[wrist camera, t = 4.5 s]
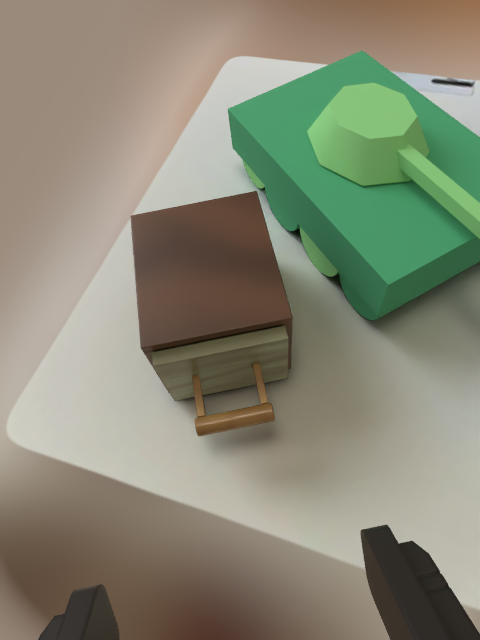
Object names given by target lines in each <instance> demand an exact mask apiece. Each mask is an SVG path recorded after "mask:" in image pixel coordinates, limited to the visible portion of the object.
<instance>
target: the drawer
mask: <svg viewBox="0 0 480 640" xmlns="http://www.w3.org/2000/svg"><path fill="white" fill-rule="evenodd" d="M152 360H153V366H154V368H155V370H156V371H157V373H158V375H159V376H160V378H161V379H162V381H163V383H164V384H165V386H166V387H167V389H168V391H169V392H170V394H171V395H172V397H173V399H174V400H175V401H177V400H182V399H187V398H192V397H195V403H196V410H197V417H198V418H196V419H195V426H196V431H197V435H198V436H204V435H209V434H214V433H218V432H223V431H228V430H233V429H238V428H243V427H247V426H252V425H257V424H262V423H267V422H272V421H275V417H274V412H273V408H272V404H271V403H268V398H267V394H266V389H265V385H264V383H265V382H270V381H275V380H280V379H285V378H288V335H287V331H286V328H285V325H284V326H279V327H274V328H273V326H272V327H267V328H262V329H257V330H252V331H247V332H242V333H237V334H233V335H228V336H223V337H218V338H213V339H208V340H203V341H198V342H193V343H188V344H183V345H178V346H173V347H168V348H166V349H165V350H160V351H155V352H152ZM255 384H256V385H257V389H258V394H259V399H260V403H261V405H257V406H253V407H248V408H243V409H238V410H233V411H228V412H223V413H218V414H214V415H209V416H206V414H205V407H204V400H203V395H206V394H211V393H216V392H221V391H226V390H231V389H236V388H241V387H245V386H250V385H255Z"/></svg>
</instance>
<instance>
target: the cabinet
mask: <svg viewBox="0 0 480 640" xmlns="http://www.w3.org/2000/svg"><path fill="white" fill-rule="evenodd" d="M131 228H132V241H133V254H134V267H135V280H136V293H137V306H138V319H139V331H140V344H141V349H142V351H143V352H144V354H145V355H146V357H147V359H148V360H149V362H150V363H151V365H152V366H153V360H152V352H155V351H160V350H165V349H166V348H168V347H173V346H178V345H183V344H188V343H193V342H198V341H203V340H208V339H213V338H218V337H223V336H228V335H233V334H237V333H242V332H247V331H252V330H257V329H262V328H267V327H272V326H273V328H274V327H279V326H284V325H285V328H286V331H287V335H288V369H290V368H291V348H292V314H291V310H290V307H289V303H288V300H287V296H286V292H285V289H284V285H283V282H282V278H281V275H280V271H279V268H278V264H277V261H276V257H275V254H274V250H273V247H272V243H271V240H270V236H269V233H268V229H267V225H266V222H265V218H264V215H263V211H262V208H261V204H260V201H259V197H258V194H257V191H254V192H249V193H244V194H239V195H234V196H229V197H224V198H219V199H213V200H208V201H203V202H198V203H193V204H188V205H183V206H178V207H173V208H168V209H163V210H158V211H153V212H147V213H142V214H137V215H132V216H131ZM153 368H154V366H153ZM154 370H155V368H154ZM155 371H156V370H155ZM156 373H157V371H156ZM157 374H158V373H157ZM158 376H159V375H158ZM159 378H160V376H159ZM160 379H161V378H160ZM161 381H162V379H161ZM162 382H163V381H162ZM163 384H164V383H163ZM164 386H165V384H164ZM165 387H166V386H165ZM166 389H167V387H166ZM167 390H168V389H167ZM168 392H169V391H168ZM169 393H170V392H169Z"/></svg>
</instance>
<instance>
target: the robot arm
mask: <svg viewBox="0 0 480 640" xmlns="http://www.w3.org/2000/svg"><path fill="white" fill-rule="evenodd" d="M361 540H362V547H363V554H364V561H365V568H366V575H367V579H368V583H369V587H370V590H371V593H372V596H373V599H374V601H375V604H376V606H377V609H378V611H379V613H380V616H381V618H382V620H383V623H384V625H385V627H386V630H387V632H388V635H389V637H390V640H480V634H479V632H478V631H477V629H476V628H475V626H474V624H473V623H472V621H471V620H470V618H469V616H468V615H467V613H466V612H465V610H464V609H463V607H462V605H461V604H460V602H459V601H458V599H457V597H456V596H455V594H454V593H453V591H452V590H451V588H449V586H448V583H447V582H446V580H445V579H444V577H443V575H442V574H440V571H439V569H438V567H437V566H436V564H435V563H434V561H433V560H432V558H431V556H430V555H429V553H427V552H426V551H425V550H423V549H422V548H421V547H419V546H418V545H417V544H416V543H414V542H413V541H409V542H404V543H400V544H398V542H397V540H396V538H395V537H394V535H393V533H392V531H391V529H390V528H389V526H388V525H382V526H377V527H373V528H368V529H363V530H361ZM38 640H119V629H118V625H117V622H116V619H115V616H114V613H113V610H112V607H111V604H110V601H109V598H108V595H107V592H106V589H105V587H104V586H103V585H102V584H100V585H96V586H91V587H86V588H81V589H77V590H74V591H73V593H72V594H71V597H70V600H69V603H68V605H67V608H66V611H65V614H62V615H57V616H54V618H53V619H52V620H51V622H50V623H49V625H48V626H47V627H46V628H45V630H44V631H43V632H42V634H41V635H40V637H39V639H38Z"/></svg>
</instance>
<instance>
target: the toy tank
mask: <svg viewBox="0 0 480 640" xmlns="http://www.w3.org/2000/svg"><path fill="white" fill-rule="evenodd" d="M228 114H229V122H230V130H231V138H232V145H233V149H234V150H235V151H236V152H237V153H238V155H239V156H240V157H241V158H242V159H243V163H244V166H245V169H246V171H247V173H248V175H249V177H250V179H251V180H252V182H253V183H254V185H256V186H257V187H258V188H261V189H262V188H264V187H265V191H266V195H267V199H268V202H269V205H270V207H271V210H272V212H273V214H274V216H275V217H276V219H277V220H278V222H279V223H280V224H281V225H282V226H283V227H284V228H285V229H286V230H288V231H295V230H297V229H299V228H300V234H301V239H302V242H303V245H304V248H305V250H306V252H307V254H308V256H309V258H310V260H311V261H312V263H313V264H314V265H315V267H316V268H317V269H318V270H319V271H320V272H321V273H323V274H324V275H326V276H331V277H332V276H334V275H336V274H338V273H339V277H340V282H341V285H342V288H343V291H344V293H345V295H346V297H347V299H348V301H349V302H350V303H351V305H352V306H353V308H354V309H355V310H356V311H357V312H358V313H359V314H360V315H362V316H363V317H365V318H366V319H370V320H376V319H379V318H380V317H382V316H384V315H386V314H388V313H389V312H391V311H393V310H395V309H396V308H398V307H400V306H402V305H404V304H405V303H407V302H409V301H411V300H413V299H414V298H416V297H418V296H420V295H421V294H423V293H425V292H427V291H429V290H430V289H432V288H434V287H436V286H438V285H439V284H441V283H443V282H445V281H446V280H448V279H450V278H452V277H454V276H455V275H457V274H459V273H461V272H462V271H464V270H466V269H468V268H470V267H471V266H473V265H475V264H477V263H479V262H480V137H478V136H477V135H476V134H474V133H473V132H472V131H470V130H469V129H468V128H466V127H465V126H464V125H462V124H461V123H460V122H458V121H457V120H455V119H454V118H453V117H451V116H450V115H449V114H447V113H446V112H445V111H443V110H442V109H441V108H439V107H438V106H437V105H435V104H434V103H432V102H431V101H430V100H428V99H427V98H426V97H424V96H423V95H422V94H420V93H419V92H418V91H416V90H415V89H414V88H412V87H411V86H410V85H408V84H407V83H405V82H404V81H403V80H401V79H400V78H399V77H397V76H396V75H395V74H393V73H392V72H391V71H389V70H388V69H387V68H385V67H384V66H383V65H381V64H380V63H378V62H377V61H376V60H374V59H373V58H372V57H370V56H369V55H368V54H366V53H365V52H363V51H360V52H358V53H355V54H353V55H351V56H349V57H346V58H344V59H342V60H339V61H337V62H335V63H332V64H330V65H328V66H325V67H323V68H321V69H319V70H316V71H314V72H312V73H309V74H307V75H305V76H302V77H300V78H298V79H296V80H293V81H291V82H289V83H286V84H284V85H282V86H280V87H277V88H275V89H273V90H270V91H268V92H266V93H263V94H261V95H259V96H257V97H254V98H252V99H250V100H247V101H245V102H243V103H240V104H238V105H236V106H234V107H231V108H229V109H228Z"/></svg>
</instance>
